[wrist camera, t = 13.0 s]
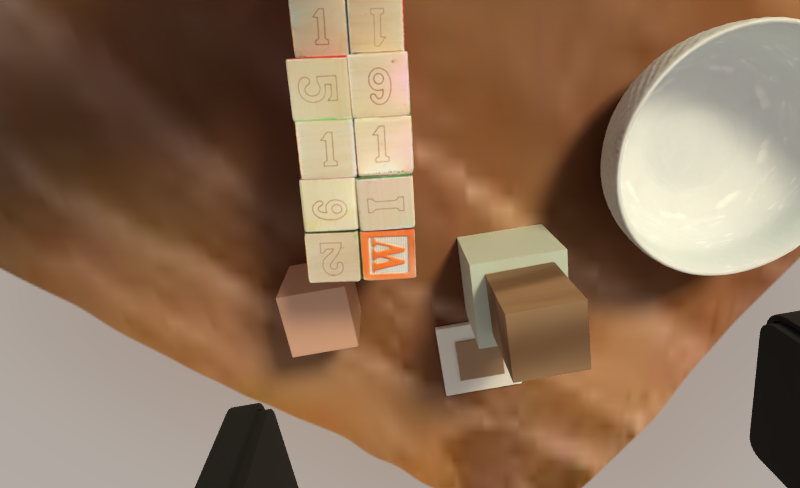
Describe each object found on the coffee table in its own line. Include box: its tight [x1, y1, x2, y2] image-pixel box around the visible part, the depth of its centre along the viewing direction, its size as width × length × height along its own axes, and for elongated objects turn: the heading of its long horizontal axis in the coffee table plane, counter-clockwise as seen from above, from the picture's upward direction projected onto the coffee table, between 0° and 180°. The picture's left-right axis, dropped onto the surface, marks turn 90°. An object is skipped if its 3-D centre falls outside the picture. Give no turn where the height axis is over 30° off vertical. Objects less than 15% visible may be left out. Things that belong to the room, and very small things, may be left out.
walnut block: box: [485, 262, 591, 383], centre depth 33 cm, size 5×5×6 cm
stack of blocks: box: [286, 0, 416, 283], centre depth 30 cm, size 21×6×12 cm, turn 2°
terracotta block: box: [276, 263, 361, 357], centre depth 39 cm, size 5×5×6 cm
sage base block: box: [457, 224, 568, 349], centre depth 39 cm, size 7×7×6 cm
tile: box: [435, 322, 522, 396], centre depth 44 cm, size 7×7×1 cm
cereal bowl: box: [600, 17, 800, 276], centre depth 35 cm, size 17×17×7 cm
